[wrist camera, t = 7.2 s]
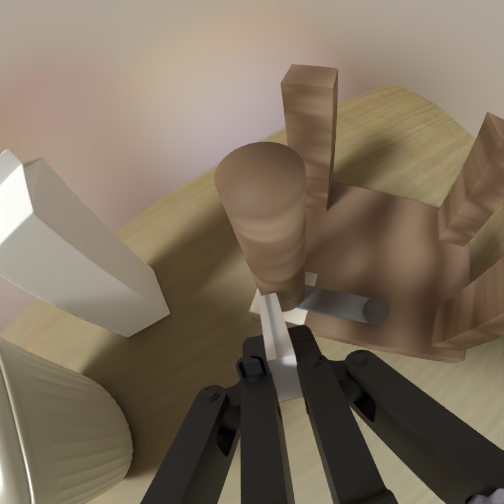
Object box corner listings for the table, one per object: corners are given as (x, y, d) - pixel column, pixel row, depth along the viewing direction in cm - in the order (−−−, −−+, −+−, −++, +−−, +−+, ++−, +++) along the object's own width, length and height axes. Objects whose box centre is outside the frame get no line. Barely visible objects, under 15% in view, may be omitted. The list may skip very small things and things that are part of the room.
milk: (114, 294, 29) (-31, 180, 10) (154, 269, 30) (18, 124, 11) (128, 339, 26) (-53, 240, 7) (172, 314, 27) (-4, 174, 8)
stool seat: (457, 228, 26) (520, 125, 11) (451, 363, 19) (575, 316, 5) (296, 189, 32) (284, 60, 17) (252, 318, 26) (189, 222, 11)
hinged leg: (388, 295, 21) (470, 183, 9) (382, 335, 20) (482, 257, 7) (269, 270, 24) (232, 139, 12) (257, 308, 23) (200, 200, 10)
